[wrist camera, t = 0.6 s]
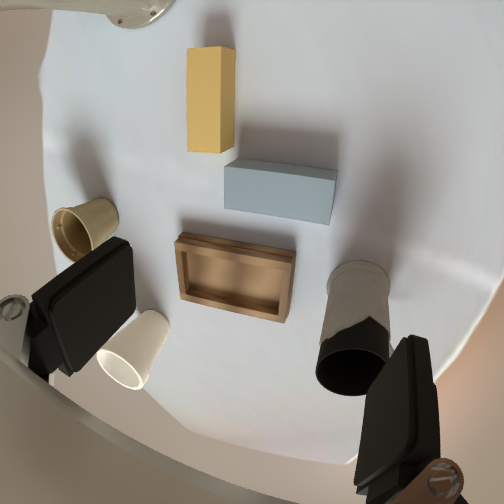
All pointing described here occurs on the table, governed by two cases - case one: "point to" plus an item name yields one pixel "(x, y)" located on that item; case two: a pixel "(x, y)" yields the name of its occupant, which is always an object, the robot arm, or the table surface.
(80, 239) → the flower pot
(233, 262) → the cradle
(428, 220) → the table surface
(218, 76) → the mustard wooden brick
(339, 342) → the glass holder
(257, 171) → the pale grey-blue block
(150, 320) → the foam cup
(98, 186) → the table surface
